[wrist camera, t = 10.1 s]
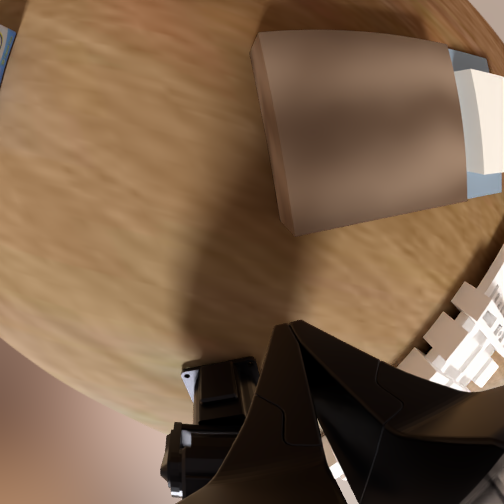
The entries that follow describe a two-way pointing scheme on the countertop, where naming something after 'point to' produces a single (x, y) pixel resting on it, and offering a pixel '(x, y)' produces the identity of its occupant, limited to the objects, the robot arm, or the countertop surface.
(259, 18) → the countertop surface
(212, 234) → the countertop surface
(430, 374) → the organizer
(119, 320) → the countertop surface
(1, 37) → the medicine box
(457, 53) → the mat
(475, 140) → the card box
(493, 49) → the countertop surface
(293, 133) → the taupe square box
